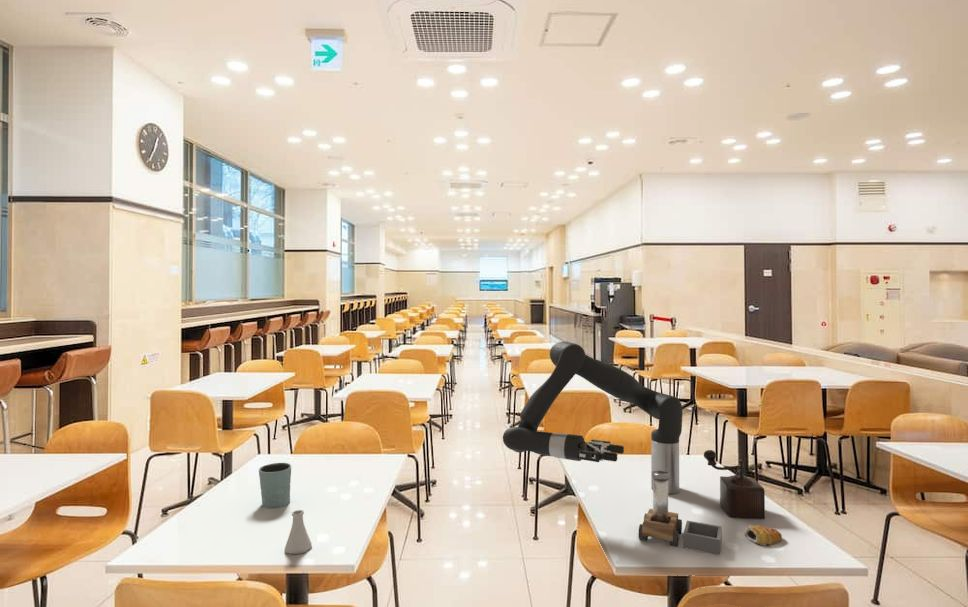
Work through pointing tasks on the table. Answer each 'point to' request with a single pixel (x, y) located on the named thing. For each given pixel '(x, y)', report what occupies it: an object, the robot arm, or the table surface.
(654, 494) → the pin
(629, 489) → the table surface
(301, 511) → the flask
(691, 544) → the tray
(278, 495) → the grey cup
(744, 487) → the manual coffee grinder
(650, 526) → the trolley
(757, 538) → the pastry
